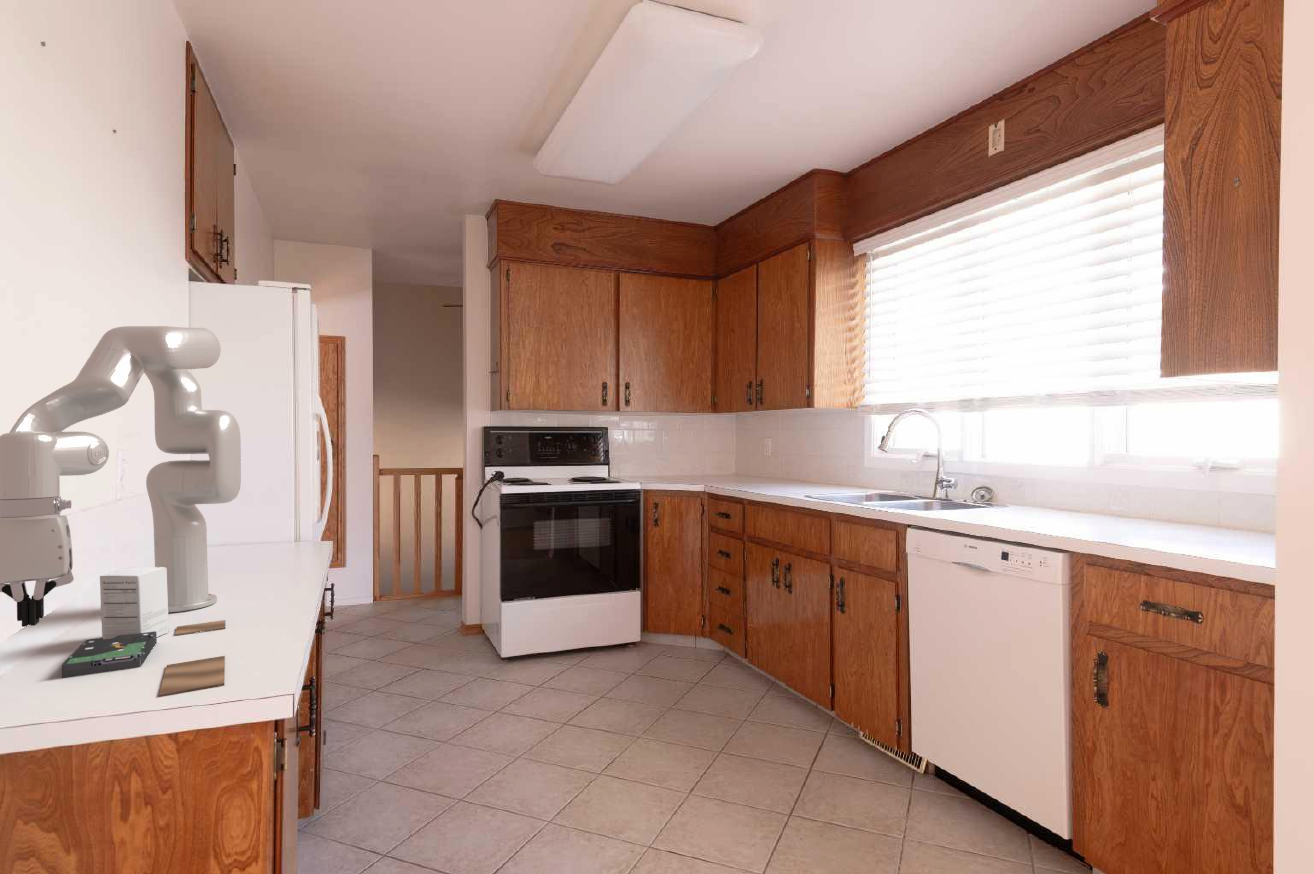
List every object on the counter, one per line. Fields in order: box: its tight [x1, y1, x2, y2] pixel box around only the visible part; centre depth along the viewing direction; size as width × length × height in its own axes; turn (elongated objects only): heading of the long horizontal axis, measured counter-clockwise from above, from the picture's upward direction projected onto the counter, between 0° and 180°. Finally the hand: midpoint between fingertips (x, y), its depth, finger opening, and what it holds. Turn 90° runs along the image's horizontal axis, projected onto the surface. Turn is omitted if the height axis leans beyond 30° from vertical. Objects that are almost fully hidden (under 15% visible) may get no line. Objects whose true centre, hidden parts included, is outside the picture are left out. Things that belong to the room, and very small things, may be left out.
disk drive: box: [61, 631, 158, 679], centre depth 119 cm, size 10×3×15 cm
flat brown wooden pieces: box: [158, 619, 226, 697], centre depth 121 cm, size 41×8×1 cm, turn 31°
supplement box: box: [99, 566, 170, 639], centre depth 130 cm, size 7×7×13 cm
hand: (30, 624), depth 113 cm, fingers closed
